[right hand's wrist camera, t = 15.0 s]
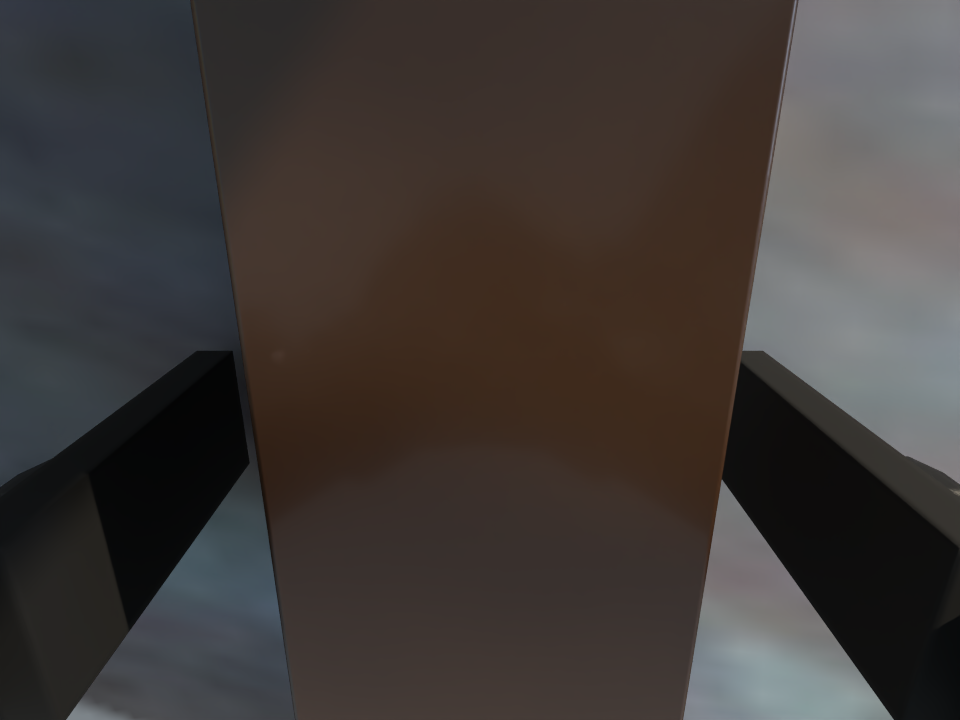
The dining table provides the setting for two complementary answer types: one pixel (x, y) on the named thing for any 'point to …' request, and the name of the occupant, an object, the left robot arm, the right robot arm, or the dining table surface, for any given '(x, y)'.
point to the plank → (491, 333)
